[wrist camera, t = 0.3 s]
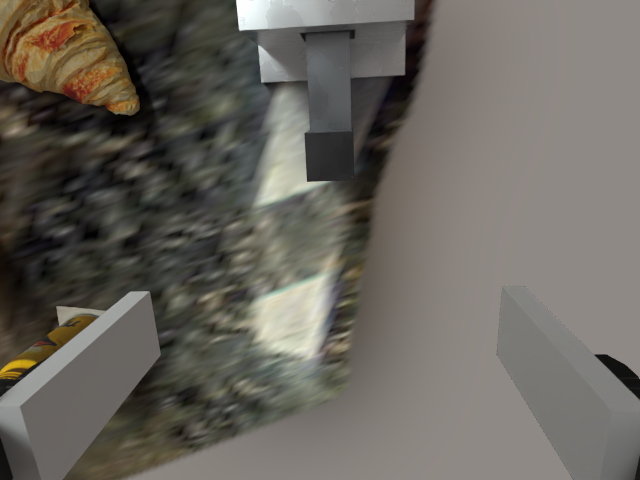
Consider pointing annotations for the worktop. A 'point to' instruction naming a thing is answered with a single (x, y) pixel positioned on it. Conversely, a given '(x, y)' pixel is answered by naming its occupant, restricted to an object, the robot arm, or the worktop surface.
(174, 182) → the worktop surface
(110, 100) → the croissant
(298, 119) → the worktop surface
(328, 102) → the bar
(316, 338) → the worktop surface
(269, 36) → the frame
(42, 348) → the condiment
